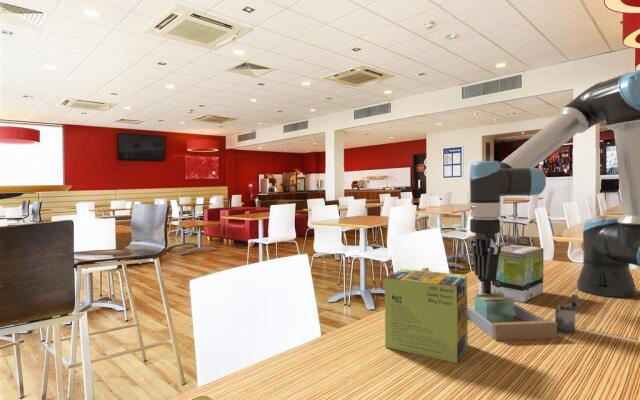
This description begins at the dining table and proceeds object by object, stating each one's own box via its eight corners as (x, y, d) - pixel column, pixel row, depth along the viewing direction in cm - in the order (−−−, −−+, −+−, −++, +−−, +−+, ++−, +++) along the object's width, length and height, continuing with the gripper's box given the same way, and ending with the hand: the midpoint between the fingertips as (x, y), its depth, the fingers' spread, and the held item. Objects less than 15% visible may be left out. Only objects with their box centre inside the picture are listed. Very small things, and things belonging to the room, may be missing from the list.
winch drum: (571, 326, 92) (571, 292, 92) (583, 332, 88) (583, 297, 88) (551, 327, 92) (551, 293, 92) (562, 333, 88) (562, 298, 88)
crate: (500, 312, 104) (500, 292, 104) (514, 321, 97) (514, 299, 97) (474, 312, 104) (474, 292, 104) (486, 322, 97) (486, 300, 97)
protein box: (458, 364, 75) (457, 285, 74) (384, 348, 83) (383, 277, 82) (469, 344, 83) (468, 274, 83) (401, 331, 92) (400, 267, 91)
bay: (506, 307, 107) (506, 295, 107) (556, 338, 86) (556, 322, 86) (457, 309, 107) (457, 297, 107) (495, 340, 85) (495, 325, 85)
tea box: (525, 303, 111) (525, 253, 110) (491, 296, 118) (490, 249, 118) (544, 293, 121) (544, 246, 120) (511, 287, 128) (511, 243, 128)
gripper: (461, 216, 110) (462, 297, 111) (482, 220, 97) (482, 312, 98) (487, 216, 110) (487, 296, 111) (511, 220, 97) (511, 311, 98)
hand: (485, 303), depth 105 cm, fingers closed
